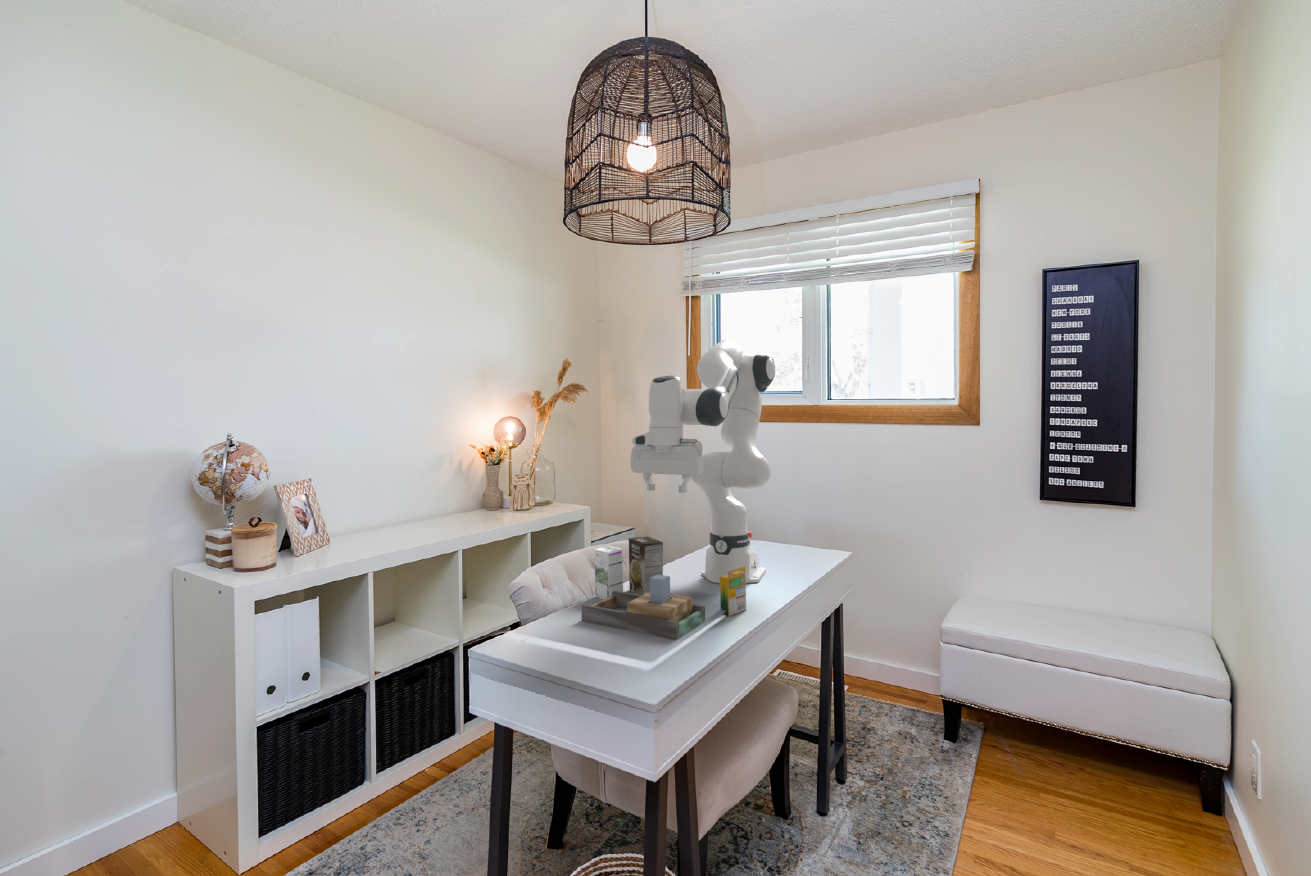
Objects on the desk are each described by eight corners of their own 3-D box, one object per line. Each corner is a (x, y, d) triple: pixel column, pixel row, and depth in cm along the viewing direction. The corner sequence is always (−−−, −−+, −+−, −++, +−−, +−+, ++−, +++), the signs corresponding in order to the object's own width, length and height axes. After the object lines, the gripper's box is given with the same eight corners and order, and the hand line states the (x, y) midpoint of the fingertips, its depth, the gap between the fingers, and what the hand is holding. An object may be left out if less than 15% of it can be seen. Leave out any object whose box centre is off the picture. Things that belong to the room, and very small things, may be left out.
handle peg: (657, 615, 156) (657, 574, 155) (670, 617, 154) (669, 576, 153) (650, 619, 153) (649, 577, 152) (663, 621, 151) (662, 579, 150)
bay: (614, 609, 169) (614, 590, 168) (705, 625, 155) (704, 605, 155) (581, 625, 156) (581, 605, 156) (676, 645, 143) (676, 623, 143)
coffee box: (628, 594, 182) (627, 538, 182) (648, 590, 186) (647, 535, 185) (643, 602, 174) (643, 543, 174) (664, 598, 178) (663, 541, 177)
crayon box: (737, 607, 169) (737, 564, 168) (746, 610, 167) (746, 566, 166) (719, 614, 164) (719, 569, 163) (728, 616, 162) (728, 571, 161)
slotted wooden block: (652, 613, 161) (651, 590, 161) (692, 620, 155) (692, 597, 155) (627, 627, 151) (626, 603, 151) (669, 635, 146) (669, 610, 145)
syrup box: (624, 599, 177) (623, 547, 176) (608, 604, 173) (607, 551, 172) (610, 595, 181) (609, 545, 180) (594, 600, 176) (593, 548, 176)
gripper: (707, 438, 164) (707, 492, 164) (639, 437, 174) (640, 487, 175) (696, 439, 158) (696, 495, 159) (626, 438, 169) (627, 490, 169)
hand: (666, 491), depth 167 cm, fingers open, 8 cm apart
